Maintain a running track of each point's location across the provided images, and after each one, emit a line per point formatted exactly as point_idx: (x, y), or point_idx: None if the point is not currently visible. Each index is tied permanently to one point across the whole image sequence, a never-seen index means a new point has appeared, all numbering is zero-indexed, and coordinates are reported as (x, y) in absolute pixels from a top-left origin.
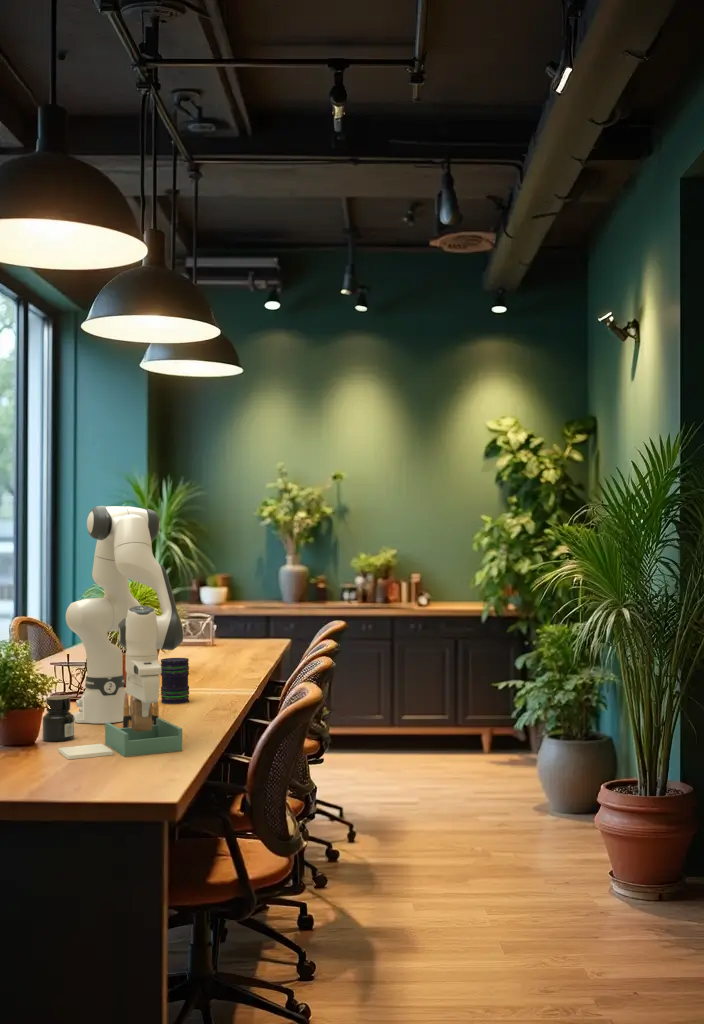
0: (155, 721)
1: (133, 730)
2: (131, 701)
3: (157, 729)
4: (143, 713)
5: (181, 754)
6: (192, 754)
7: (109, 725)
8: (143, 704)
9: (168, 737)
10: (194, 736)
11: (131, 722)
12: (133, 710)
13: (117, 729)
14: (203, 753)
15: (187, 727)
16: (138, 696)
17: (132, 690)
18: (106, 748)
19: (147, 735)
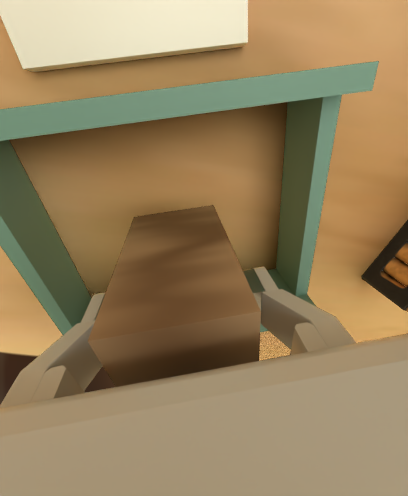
0: (392, 291)
1: (300, 215)
2: (254, 303)
3: (289, 287)
4: (89, 312)
5: (29, 305)
6: (27, 327)
7: (267, 75)
8: (17, 381)
9: (48, 314)
10: (262, 338)
11: (218, 217)
12: (179, 267)
13: (82, 106)
14: (40, 346)
15: (368, 331)
16: (13, 449)
17: (344, 439)
18: (106, 41)
19: (284, 250)
